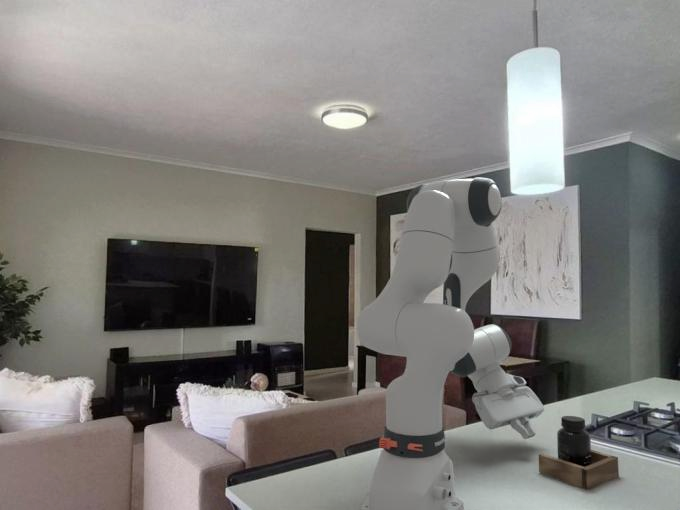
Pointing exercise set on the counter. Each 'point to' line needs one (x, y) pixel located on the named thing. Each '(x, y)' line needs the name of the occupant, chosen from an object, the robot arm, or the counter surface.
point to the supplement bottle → (574, 441)
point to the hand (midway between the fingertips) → (530, 436)
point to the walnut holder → (581, 470)
